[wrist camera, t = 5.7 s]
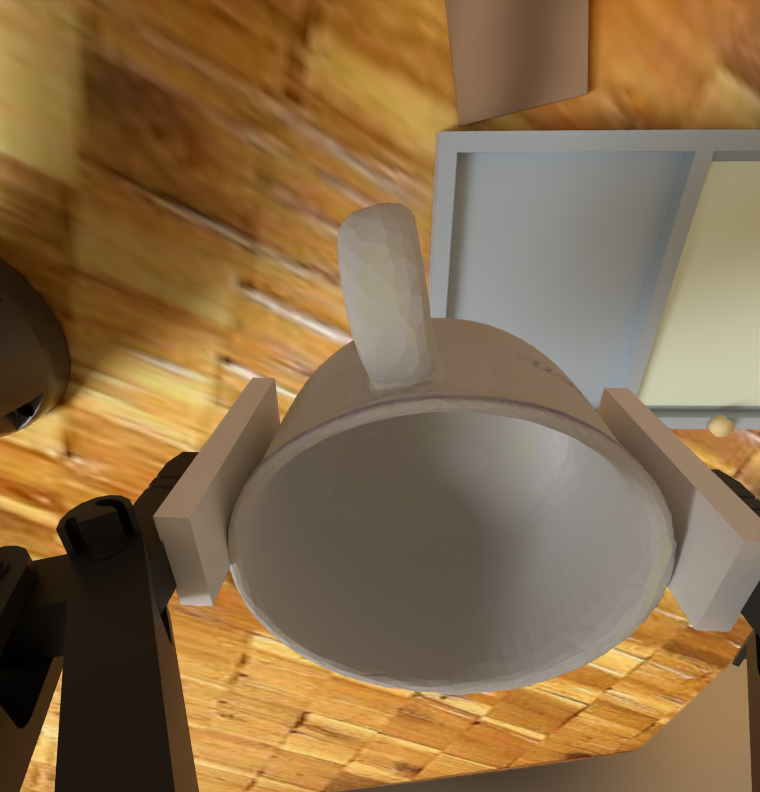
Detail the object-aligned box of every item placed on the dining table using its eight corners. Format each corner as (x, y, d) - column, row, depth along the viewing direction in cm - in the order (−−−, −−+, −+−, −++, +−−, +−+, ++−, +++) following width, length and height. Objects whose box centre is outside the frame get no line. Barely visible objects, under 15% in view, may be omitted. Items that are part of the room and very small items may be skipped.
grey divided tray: (422, 415, 34) (425, 436, 32) (436, 133, 25) (441, 130, 23) (791, 416, 34) (825, 437, 31) (941, 130, 25) (1008, 126, 22)
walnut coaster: (457, 127, 26) (460, 125, 24) (439, -29, 22) (442, -38, 21) (578, 96, 25) (587, 93, 24) (579, -70, 21) (589, -81, 20)
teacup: (534, 518, 20) (615, 711, 13) (301, 519, 20) (256, 710, 13) (603, 184, 13) (846, 206, 6) (255, 190, 14) (113, 219, 7)
